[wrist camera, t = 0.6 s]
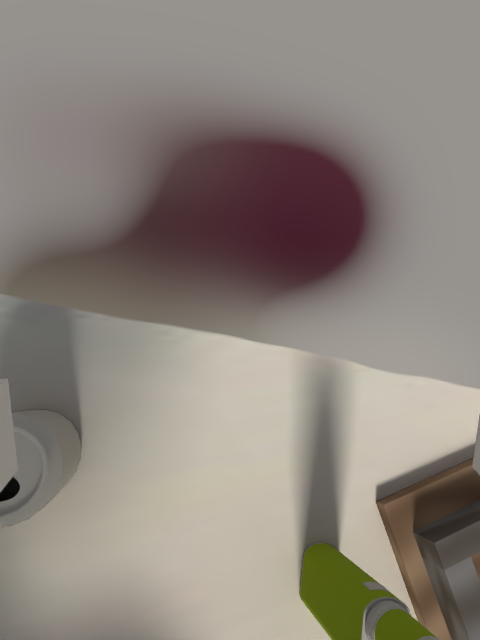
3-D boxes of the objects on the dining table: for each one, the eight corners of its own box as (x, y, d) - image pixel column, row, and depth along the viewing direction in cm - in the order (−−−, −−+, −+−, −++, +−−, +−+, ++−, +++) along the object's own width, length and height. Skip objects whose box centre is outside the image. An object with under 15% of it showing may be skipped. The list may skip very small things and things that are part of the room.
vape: (340, 543, 45) (487, 653, 25) (334, 609, 44) (483, 777, 24) (305, 539, 44) (428, 648, 25) (297, 606, 43) (420, 776, 24)
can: (-16, 490, 39) (-83, 529, 28) (5, 404, 41) (-52, 406, 29) (73, 499, 41) (44, 539, 29) (90, 414, 42) (68, 421, 31)
